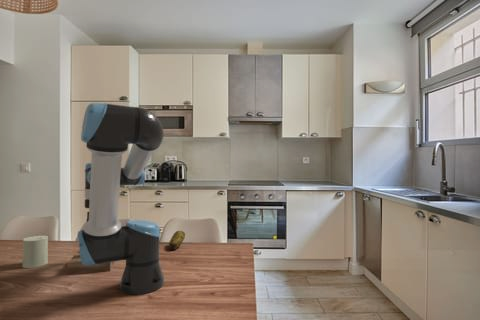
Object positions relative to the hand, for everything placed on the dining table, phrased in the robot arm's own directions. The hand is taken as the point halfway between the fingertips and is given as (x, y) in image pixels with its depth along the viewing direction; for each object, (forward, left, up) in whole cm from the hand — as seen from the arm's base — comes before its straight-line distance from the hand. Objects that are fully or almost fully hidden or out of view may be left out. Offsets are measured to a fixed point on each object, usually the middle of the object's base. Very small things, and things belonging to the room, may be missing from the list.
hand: (93, 247), depth 123 cm
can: (+8, +25, -8) cm, 28 cm away
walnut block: (0, 0, -9) cm, 9 cm away
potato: (+20, -36, -8) cm, 42 cm away
